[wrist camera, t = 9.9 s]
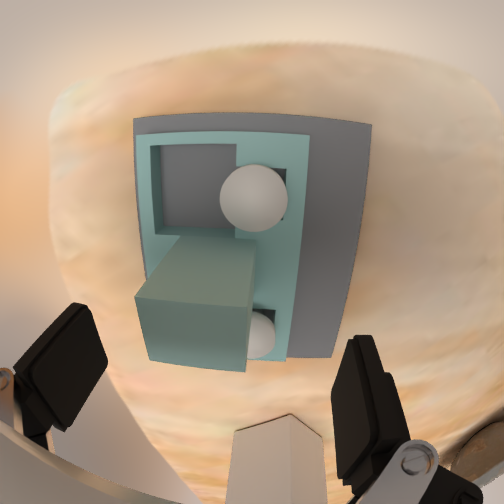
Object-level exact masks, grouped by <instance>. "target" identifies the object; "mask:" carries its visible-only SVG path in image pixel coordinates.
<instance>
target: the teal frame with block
mask: <svg viewBox="0 0 504 504" xmlns="http://www.w3.org/2000/svg"><path fill="white" fill-rule="evenodd" d="M309 140H310V135H301V134H288V133H271V132H244V131H200V132H174V133H157V134H145V135H136V159H137V180H138V195H139V208H140V219H141V229H142V238H143V247H144V255H145V262H146V269H147V276H148V279H147V280H146V282H145V283H144V284H143V286H142V287H141V289H140V290H139V291H138V293H137V294H136V295H135V302H136V306H137V311H138V316H139V320H140V324H141V329H142V333H143V337H144V341H145V345H146V349H147V352H148V356H149V360H151V361H157V362H163V363H169V364H175V365H182V366H190V367H197V368H206V369H215V370H225V371H236V372H245V371H246V362H247V353H248V344H249V335H250V326H251V317H252V308H253V309H271V310H274V320H273V324H274V327H275V345H274V348H273V349H272V350H271V351H270V352H269V353H268V354H267V355H265V356H263V357H260V358H255V359H248V360H264V361H286V355H287V348H288V342H289V335H290V328H291V321H292V313H293V306H294V298H295V291H296V283H297V274H298V266H299V257H300V248H301V238H302V228H303V218H304V207H305V196H306V183H307V170H308V156H309ZM172 144H237V152H236V166H245V165H249V164H260V165H264V166H267V167H269V168H284V169H285V178H284V184H285V187H286V191H287V196H288V203H287V208H286V211H285V214H284V215H283V217H282V218H281V220H280V221H279V222H278V223H277V224H276V225H274V226H273V227H271V228H269V229H267V230H264V231H260V232H249V231H244V230H241V229H239V228H237V227H235V229H225V228H202V227H177V226H164V225H163V210H162V193H161V169H160V145H172Z"/></svg>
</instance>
